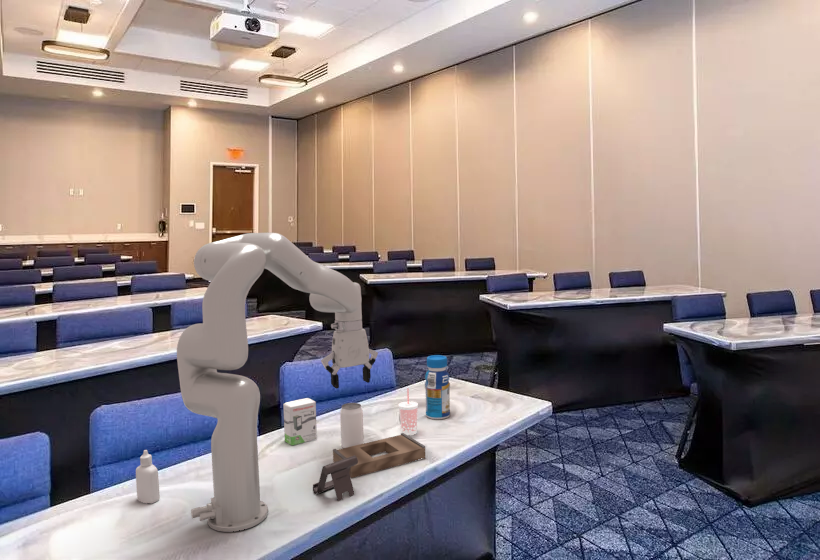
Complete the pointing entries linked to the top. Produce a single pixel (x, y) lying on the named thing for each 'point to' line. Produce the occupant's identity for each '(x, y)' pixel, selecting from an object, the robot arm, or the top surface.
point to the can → (351, 425)
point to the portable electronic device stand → (337, 477)
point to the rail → (398, 453)
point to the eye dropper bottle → (147, 480)
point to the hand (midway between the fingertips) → (351, 384)
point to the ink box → (300, 421)
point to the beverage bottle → (437, 388)
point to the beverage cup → (408, 416)
